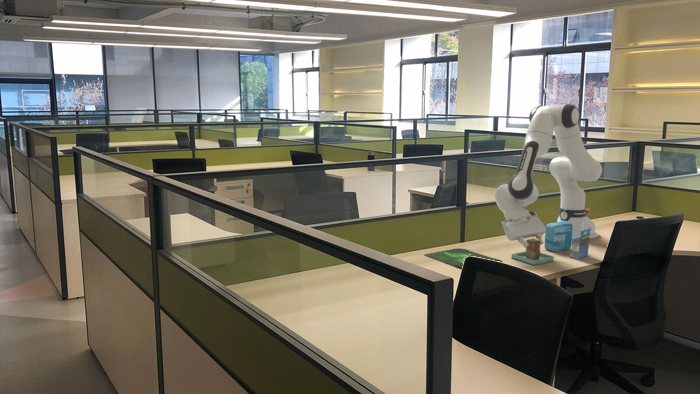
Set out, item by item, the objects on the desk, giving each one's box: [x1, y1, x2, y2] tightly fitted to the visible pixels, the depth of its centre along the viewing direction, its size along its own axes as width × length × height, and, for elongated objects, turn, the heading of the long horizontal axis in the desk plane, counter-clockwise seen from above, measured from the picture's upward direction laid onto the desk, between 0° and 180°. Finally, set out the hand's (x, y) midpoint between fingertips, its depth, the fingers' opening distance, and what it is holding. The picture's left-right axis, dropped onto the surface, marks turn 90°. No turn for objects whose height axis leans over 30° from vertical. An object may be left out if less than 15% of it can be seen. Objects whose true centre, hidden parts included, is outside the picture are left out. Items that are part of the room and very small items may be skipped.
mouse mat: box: [423, 247, 503, 270], centre depth 242 cm, size 27×22×1 cm
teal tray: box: [511, 250, 555, 266], centre depth 239 cm, size 12×12×2 cm
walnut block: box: [525, 238, 541, 260], centre depth 239 cm, size 4×4×8 cm
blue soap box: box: [544, 221, 573, 253], centre depth 255 cm, size 12×4×12 cm, turn 116°
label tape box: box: [570, 228, 590, 260], centre depth 243 cm, size 9×4×12 cm, turn 133°
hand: (534, 245), depth 238 cm, fingers open, 7 cm apart
